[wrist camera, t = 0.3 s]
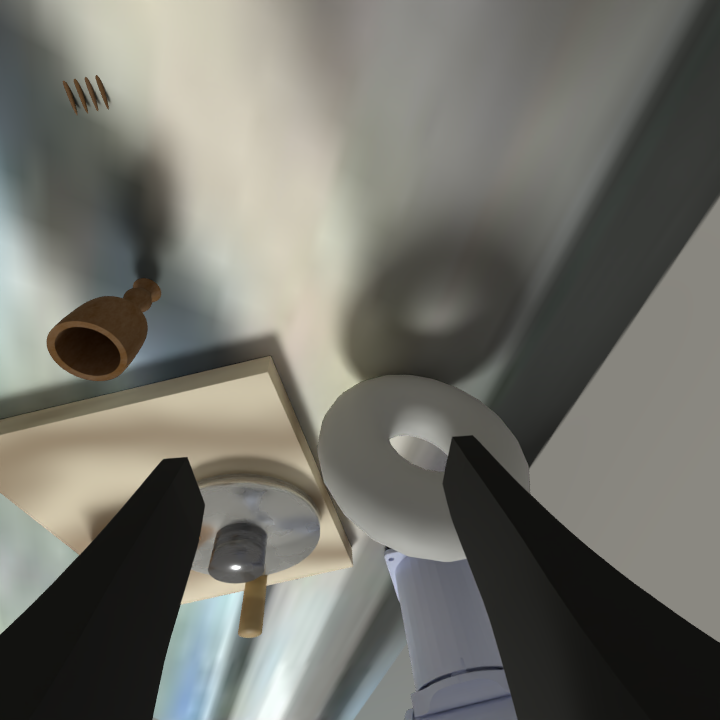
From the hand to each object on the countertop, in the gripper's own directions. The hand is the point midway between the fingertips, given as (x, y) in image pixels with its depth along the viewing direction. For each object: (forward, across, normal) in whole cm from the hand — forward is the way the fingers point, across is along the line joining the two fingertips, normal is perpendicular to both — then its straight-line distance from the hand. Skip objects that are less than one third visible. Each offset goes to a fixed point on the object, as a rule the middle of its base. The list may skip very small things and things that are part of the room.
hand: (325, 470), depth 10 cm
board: (+10, +9, +14) cm, 19 cm away
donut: (+10, -4, +5) cm, 12 cm away
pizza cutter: (+8, +8, +15) cm, 19 cm away
